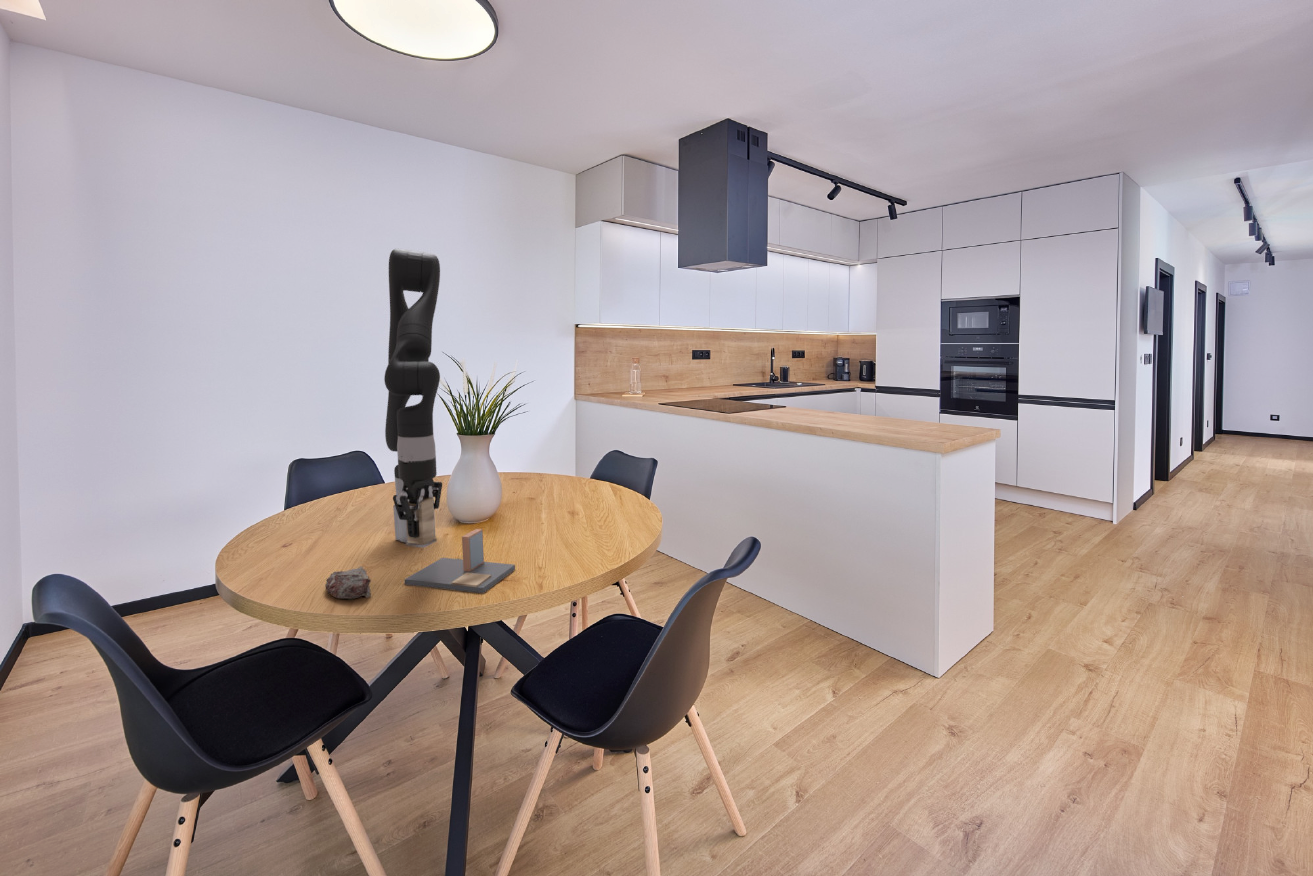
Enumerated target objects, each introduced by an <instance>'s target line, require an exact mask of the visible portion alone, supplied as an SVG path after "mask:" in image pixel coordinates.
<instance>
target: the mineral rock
mask: <svg viewBox="0 0 1313 876" xmlns="http://www.w3.org/2000/svg"><path fill="white" fill-rule="evenodd" d="M325 581H326V583H325V585H324V587H325V590H326V591H327V594H330V595H331V596H333V597H334V598H336V599H341V600H342V599H343V600H344V599H345V600H346V599H348V600H349V599H350V600H354V599H357V598H361V597H363V596H364V597H365V598H371V595H372V594H371V592H372V590H371V588H370V583H371V582H372V580H371V579H370V578H369V575H368V573H367V570H366V569H365V568H364V566H363V565H362V566H360V567H356V568H352V569H348V570H345V571H343V570H340V571H333V572H332V573H331V574H330V575H329V577H327V578H326V580H325Z"/></svg>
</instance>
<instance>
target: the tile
mask: <svg viewBox="0 0 1313 876" xmlns="http://www.w3.org/2000/svg"><path fill="white" fill-rule="evenodd" d="M461 545H462V546H461V548H462V549H461V550H462V560H463V571H468V572H470V571H472V570H473V569H475V568H476V567H478V566H479V565H481V564H482V563H484V562H485V560H484V559H485V558H484V554H485V553H484V534H483V529H481V528H475V529H474V530H472V531H469V532H467V533H466V534H464V535H463V536H461Z"/></svg>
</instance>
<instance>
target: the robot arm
mask: <svg viewBox="0 0 1313 876" xmlns="http://www.w3.org/2000/svg"><path fill="white" fill-rule="evenodd" d="M440 280H441V264H440V260H439V258H438V256H437V255H436V254H434V253H429V252H424V251H423V252H422V251H419V250H418V251H417V250H410V249H402V248H394V249H392V250H391V252H390V254H389V258H388V289H389V290H388V292H389V336H388V359H387V360H388V362H387V367H386V369H385V372H384V379H383V380H384V385H385V388H386V389H387V391H388V393H387V394H388V397H387V398H388V399H387V405H386V407H387V408H386V419H385V429H384V430H385V431H384V433H385V434H384V436H385V443H386V446H387V449H389V451H391V452H397V465H395V467H394V483H395V484H394V487H395V494H394V495H393V497H392V500H393V521H394V523H393V524H394V534H395V535H394V537H395V539H394V540H396V541H399V542H401V543H405V544H406V543H407V524H408V535H409V537H413V538H417V537H419V520H418V517H419V510H420V502H421V501H422V500H423V499H426V498H431V497H433V505H434V511H435V510H436V509H437V510H438V509H439V507H440V501H441V497H442V490H443V489H442V488H443V482H442V481H434V478H436V476H437V455H436V452H437V451H436V442H435V435H434V415H433V414H434V406H435V401H436V396H437V393H438V389H439V386H440V381H441V380H440V379H441V373H440V370H439V368H438V367H437V365H436V364H435V363H433V362H431V361H429V359H430V358H431V357H430V356H431V354H432V345H433V343H432V339H433V338H432V337H433V335H432V334H433V323H434V316H435V311H436V308H437V302H438V295H439V287H440V282H441V281H440ZM405 291H407V292H415V293H422V294H421V296H420V297H419V298H418V299H417V301H415V302H414V303H413V304H412V305H411V306H410V307H408V304H407V302H406V297H405V293H404V292H405ZM412 396H422V397H421V400H420V401H419V402H418V403H415V404H414V405H409V406H407V403H408V401H409V399H410V398H411V397H412ZM408 502H409V503H411V504H416V506H410V505H409V503H408ZM411 509H413V510H414V513H413V515H412V512H411ZM435 517H436V516H435V515H434V525H435V526H436V518H435ZM406 520H407V524H406ZM435 537H436V534H435Z"/></svg>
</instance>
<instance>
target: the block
mask: <svg viewBox="0 0 1313 876" xmlns="http://www.w3.org/2000/svg"><path fill="white" fill-rule="evenodd" d="M433 498H434V497H431V498H426V499H423V500H422V501H421V502H420V510H419V517H418V520H419V537H417V538H413V537H409V535H408V524H407V520H406V524H407V543H405V546H406V547H414V548H423V549H424V548H427V547H428V546H430V545H432V544H434V543H436V542H437V541H438V540H437V538H436V536H435V535H436V524H435V525H434V516H435V510H434V505H433ZM408 503H409V502H408ZM409 505H410V506H416V504H411V503H409ZM411 512H412V515H413V513H414V510H413V509H411Z"/></svg>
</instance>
